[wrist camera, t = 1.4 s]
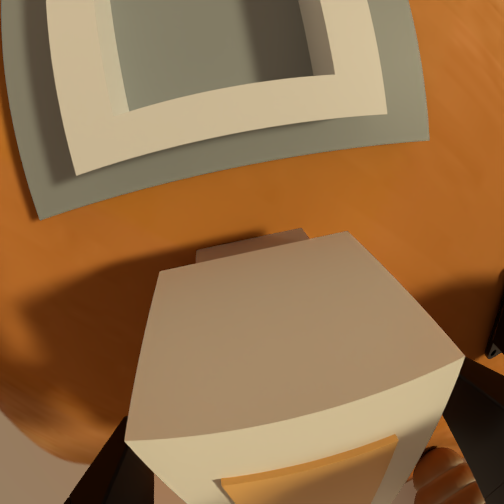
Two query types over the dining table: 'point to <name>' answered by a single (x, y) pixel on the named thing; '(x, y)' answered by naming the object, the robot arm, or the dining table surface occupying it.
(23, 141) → the rail panel
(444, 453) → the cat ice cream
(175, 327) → the block
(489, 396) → the robot arm
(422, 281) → the dining table surface
